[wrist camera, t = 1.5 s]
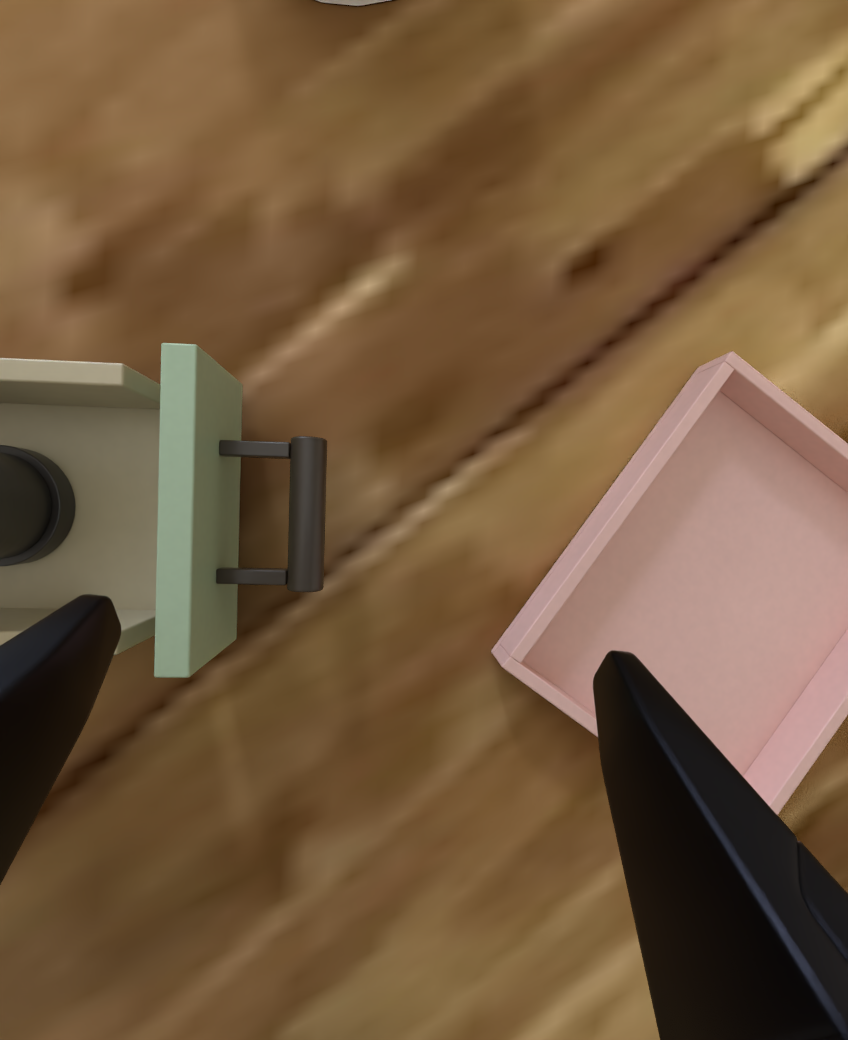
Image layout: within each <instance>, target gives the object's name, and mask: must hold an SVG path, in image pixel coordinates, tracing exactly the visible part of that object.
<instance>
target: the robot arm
mask: <svg viewBox="0 0 848 1040" xmlns="http://www.w3.org/2000/svg"><path fill="white" fill-rule="evenodd" d="M120 637H121V624H120V621H119V618H118V616H117V613H116V610H115V607H114V605H113V602H112V600H111V599H110V598H109V597H108V596H103V595H94V594H83V595H81V596H78V597H77V598H75V599H73V600H72V601H70V602H69V603H67V604H66V605H64V606H62V607H61V608H59V609H58V610H56V611H54V612H53V613H51V614H50V615H48V616H46V617H45V618H43V619H42V620H40V621H38V622H37V623H35V624H34V625H32V626H31V627H29V628H27V629H26V630H24V631H23V632H21V633H19V634H18V635H16V636H15V637H13V638H11V639H10V640H8V641H7V642H5V643H3V644H2V645H0V884H1V882H2V881H3V879H4V877H5V875H6V873H7V871H8V869H9V867H10V865H11V864H12V862H13V860H14V858H15V856H16V854H17V852H18V850H19V849H20V847H21V845H22V843H23V841H24V839H25V837H26V835H27V833H28V832H29V830H30V828H31V826H32V824H33V822H34V820H35V818H36V816H37V815H38V813H39V811H40V809H41V807H42V805H43V803H44V801H45V799H46V798H47V796H48V794H49V792H50V790H51V788H52V786H53V784H54V782H55V781H56V779H57V777H58V775H59V773H60V771H61V769H62V767H63V766H64V764H65V762H66V760H67V758H68V756H69V754H70V752H71V750H72V749H73V747H74V745H75V743H76V741H77V739H78V737H79V735H80V733H81V731H82V729H83V727H84V725H85V723H86V721H87V719H88V717H89V715H90V712H91V710H92V708H93V705H94V703H95V700H96V698H97V695H98V693H99V690H100V688H101V685H102V683H103V680H104V678H105V675H106V673H107V670H108V668H109V665H110V663H111V660H112V658H113V655H114V653H115V650H116V648H117V645H118V643H119V640H120ZM593 694H594V703H595V713H596V722H597V731H598V741H599V750H600V758H601V766H602V771H603V777H604V782H605V786H606V791H607V796H608V800H609V805H610V810H611V814H612V819H613V823H614V828H615V833H616V837H617V842H618V847H619V851H620V856H621V860H622V865H623V870H624V874H625V879H626V883H627V888H628V893H629V897H630V902H631V907H632V911H633V916H634V920H635V925H636V930H637V934H638V939H639V944H640V948H641V953H642V957H643V962H644V967H645V971H646V976H647V981H648V985H649V990H650V994H651V999H652V1004H653V1008H654V1013H655V1017H656V1022H657V1027H658V1031H659V1036H660V1040H848V893H847V892H846V891H845V890H844V889H843V888H842V887H841V886H840V885H839V883H838V882H837V881H836V880H835V879H834V878H833V877H832V876H831V875H830V874H829V873H828V871H827V870H826V869H825V868H824V867H823V866H822V865H821V864H820V863H819V861H818V860H817V859H816V858H815V857H814V856H813V855H812V854H811V852H810V851H809V850H808V849H807V848H806V847H805V846H804V845H803V843H801V842H800V841H797V838H796V836H795V835H794V834H793V832H792V831H791V830H790V829H789V828H788V827H787V826H786V824H785V823H784V822H783V821H782V820H781V819H780V818H779V817H778V815H777V814H776V813H775V812H774V811H773V810H772V809H771V808H770V806H769V805H768V804H767V803H766V802H765V801H764V800H763V799H762V797H761V796H760V795H759V794H758V793H757V792H756V791H755V790H754V788H753V787H752V786H751V785H750V784H749V783H748V782H747V780H746V779H745V778H744V777H743V776H742V775H741V774H740V773H739V771H738V770H737V769H736V768H735V767H734V766H733V765H732V764H731V762H730V761H729V760H728V759H727V758H726V757H725V756H724V755H723V753H722V752H721V751H720V750H719V749H718V748H717V747H716V746H715V744H714V743H713V742H712V741H711V740H710V739H709V738H708V737H707V735H706V734H705V733H704V732H703V731H702V730H701V729H700V727H699V726H698V725H697V724H696V723H695V722H694V721H693V720H692V718H691V717H690V716H689V715H688V714H687V713H686V712H685V711H684V709H683V708H682V707H681V706H680V705H679V704H678V703H677V702H676V700H675V699H674V698H673V697H672V696H671V695H670V694H669V693H668V691H667V690H666V689H665V688H664V687H663V686H662V685H661V683H660V682H659V681H658V680H657V679H656V678H655V677H654V676H653V674H652V673H651V672H650V671H649V670H648V669H647V668H646V667H645V665H644V664H643V663H642V662H641V661H640V660H639V659H638V658H637V657H636V656H635V655H634V654H633V653H631V652H627V651H617V650H611V651H609V652H608V653H607V654H606V656H605V658H604V659H603V661H602V663H601V665H600V666H599V668H598V670H597V671H596V673H595V675H594V678H593Z"/></svg>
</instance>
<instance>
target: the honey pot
mask: <svg viewBox="0 0 848 1040" xmlns="http://www.w3.org/2000/svg"><path fill="white" fill-rule="evenodd" d="M317 1H319V2H322V3H333V4H343V5H354V6H361V5H367V4H373V3H378V2H384V1H390V0H317Z"/></svg>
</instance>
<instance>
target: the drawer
mask: <svg viewBox="0 0 848 1040" xmlns="http://www.w3.org/2000/svg"><path fill="white" fill-rule="evenodd" d="M242 387H243V385H242V384H241V383H240V382H239V381H238V380H237V379H236V378H234V377H233V376H232V375H231V374H230V373H229V372H227V371H226V370H225V369H224V368H223V367H222V366H220V365H219V364H218V363H217V362H216V361H215V360H214V359H212V358H211V357H210V356H209V355H208V354H207V353H205V352H204V351H203V350H202V349H201V348H200V347H198V346H197V345H195V344H175V343H162V345H161V385H160V384H158V383H156V382H155V381H153V380H151V379H149V378H147V377H146V376H144V375H142V374H140V373H138V372H137V371H135V370H133V369H131V368H129V367H128V366H126V365H124V364H122V363H101V362H79V361H57V360H35V359H13V358H0V445H6V446H12V447H18V448H24V449H28V450H32V451H35V452H38V453H40V454H42V455H44V456H46V457H47V458H49V459H50V460H52V461H53V462H54V463H55V464H56V465H58V466H59V468H60V469H61V470H62V471H63V472H64V474H65V475H66V477H67V478H68V480H69V482H70V484H71V486H72V489H73V492H74V497H75V517H74V521H73V524H72V527H71V530H70V531H69V533H68V535H67V537H66V538H65V539H64V541H63V542H62V543H61V544H60V545H59V546H58V547H57V548H56V549H55V550H54V551H53V552H51V553H50V554H48V555H47V556H45V557H43V558H41V559H39V560H36V561H33V562H30V563H24V564H18V565H10V566H0V645H2V644H3V643H5V642H7V641H8V640H10V639H11V638H13V637H15V636H16V635H18V634H19V633H21V632H23V631H24V630H26V629H27V628H29V627H31V626H32V625H34V624H35V623H37V622H38V621H40V620H42V619H43V618H45V617H46V616H48V615H50V614H51V613H53V612H54V611H56V610H58V609H59V608H61V607H62V606H64V605H66V604H67V603H69V602H70V601H72V600H73V599H75V598H77V597H78V596H81V595H83V594H94V595H103V596H108V597H109V598H110V599H111V600H112V602H113V605H114V607H115V610H116V613H117V616H118V618H119V621H120V624H121V637H120V640H119V643H118V645H117V648H116V650H115V653H114V655H117V654H119V653H121V652H123V651H125V650H127V649H129V648H131V647H133V646H135V645H137V644H139V643H141V642H143V641H145V640H146V639H148V638H150V637H152V636H154V635H155V661H154V676H155V677H158V678H188V677H190V676H191V675H193V674H194V673H195V672H196V671H198V670H199V669H200V668H201V667H202V666H204V665H205V664H206V663H207V662H209V661H210V660H211V659H212V658H214V657H215V656H216V655H217V654H219V653H220V652H221V651H222V650H224V649H225V648H226V647H227V646H228V645H230V644H231V643H232V642H233V641H235V640H236V638H237V596H238V584H248V585H286V584H287V589H288V590H290V591H293V592H316V591H320V590H323V582H324V544H325V505H326V466H327V440H325V439H323V438H318V437H308V436H298V437H293V438H291V444H290V443H288V442H265V441H241V429H242ZM241 457H248V458H277V459H290V498H289V538H288V569H281V568H238V554H239V513H240V471H241Z"/></svg>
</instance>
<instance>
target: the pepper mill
mask: <svg viewBox="0 0 848 1040" xmlns="http://www.w3.org/2000/svg"><path fill="white" fill-rule="evenodd" d="M74 517H75V497H74V492H73V489H72V486H71V484H70V482H69V480H68V478H67V477H66V475H65V474H64V472H63V471H62V470H61V469H60V468H59V466H58V465H56V464H55V463H54V462H53V461H52V460H50V459H49V458H47V457H46V456H44V455H42V454H40V453H38V452H35V451H32V450H28V449H24V448H18V447H12V446H6V445H0V566H10V565H18V564H24V563H30V562H33V561H36V560H39V559H41V558H43V557H45V556H47V555H48V554H50V553H51V552H53V551H54V550H55V549H56V548H57V547H58V546H59V545H60V544H61V543H62V542H63V541H64V539H65V538H66V537H67V535H68V533H69V531H70V530H71V527H72V524H73V521H74Z"/></svg>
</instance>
